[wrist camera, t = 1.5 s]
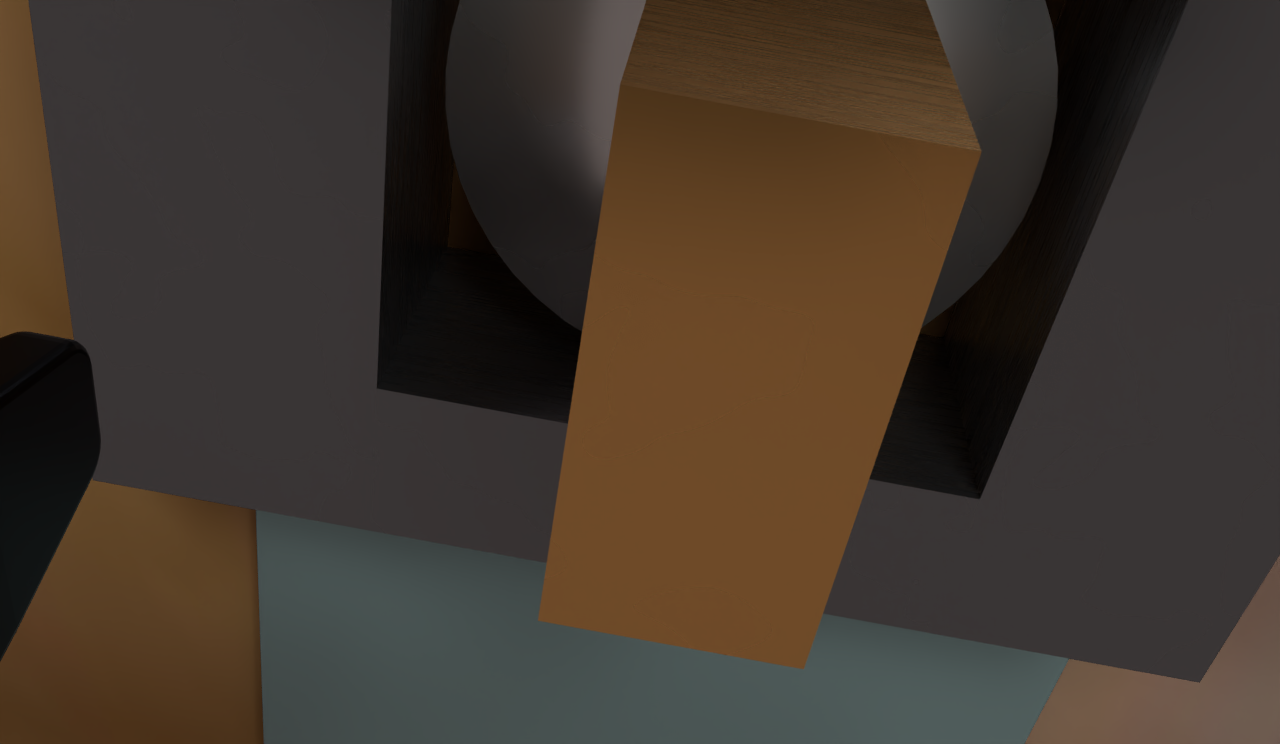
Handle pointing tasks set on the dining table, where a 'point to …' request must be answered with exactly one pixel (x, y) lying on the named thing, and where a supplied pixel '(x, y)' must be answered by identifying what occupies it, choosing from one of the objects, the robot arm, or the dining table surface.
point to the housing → (549, 346)
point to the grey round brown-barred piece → (738, 268)
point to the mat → (583, 663)
